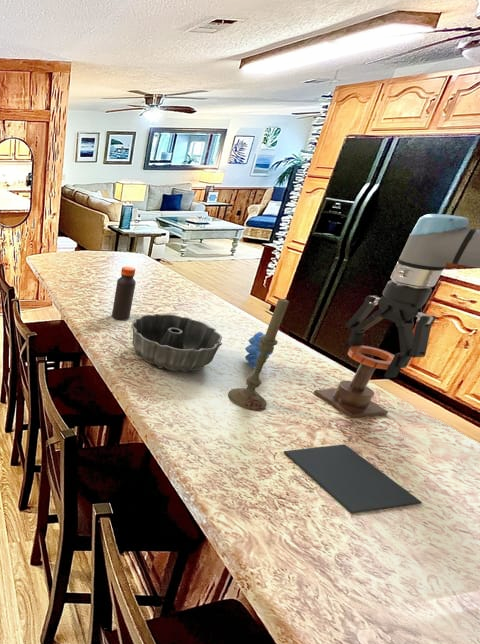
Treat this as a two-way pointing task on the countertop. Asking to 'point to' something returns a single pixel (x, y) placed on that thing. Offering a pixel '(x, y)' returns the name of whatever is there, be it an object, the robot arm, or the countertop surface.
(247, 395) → the candlestick holder
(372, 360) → the ring
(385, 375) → the robot arm
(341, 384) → the stand
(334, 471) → the mat
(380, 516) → the countertop surface
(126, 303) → the bottle
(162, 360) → the bundt pan
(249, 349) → the grapes
